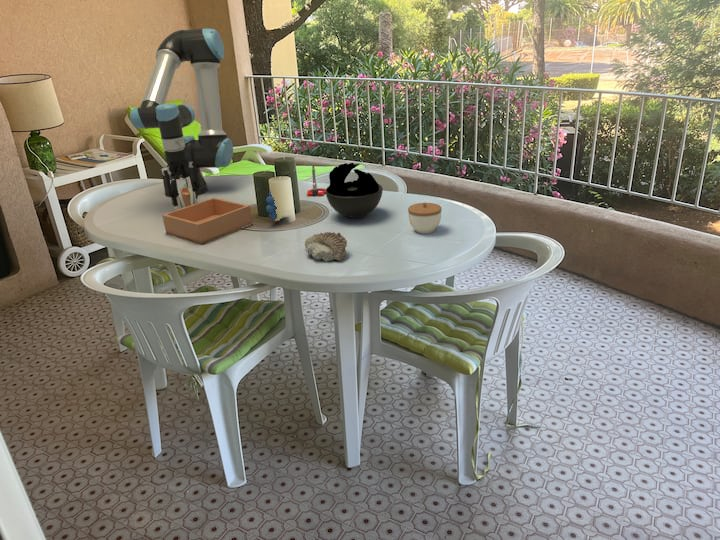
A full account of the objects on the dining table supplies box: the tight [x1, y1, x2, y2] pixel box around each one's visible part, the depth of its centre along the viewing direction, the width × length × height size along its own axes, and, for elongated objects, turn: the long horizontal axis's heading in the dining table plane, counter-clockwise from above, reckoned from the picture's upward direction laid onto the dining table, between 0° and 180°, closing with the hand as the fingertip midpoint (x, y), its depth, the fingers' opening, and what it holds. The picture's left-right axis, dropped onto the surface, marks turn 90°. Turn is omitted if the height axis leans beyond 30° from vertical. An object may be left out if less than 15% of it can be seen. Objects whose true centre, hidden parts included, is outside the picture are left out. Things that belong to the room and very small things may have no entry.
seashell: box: [304, 231, 348, 263], centre depth 165 cm, size 14×9×10 cm
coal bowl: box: [325, 162, 384, 219], centre depth 194 cm, size 20×20×19 cm
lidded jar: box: [407, 201, 443, 234], centre depth 179 cm, size 11×11×9 cm
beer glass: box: [172, 175, 193, 208], centre depth 204 cm, size 7×7×15 cm
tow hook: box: [306, 163, 327, 197], centre depth 224 cm, size 8×13×9 cm
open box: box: [161, 197, 253, 246], centre depth 192 cm, size 22×20×7 cm
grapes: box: [265, 190, 277, 221], centre depth 194 cm, size 12×7×12 cm, turn 160°
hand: (187, 210), depth 206 cm, fingers closed on beer glass, 6 cm apart
